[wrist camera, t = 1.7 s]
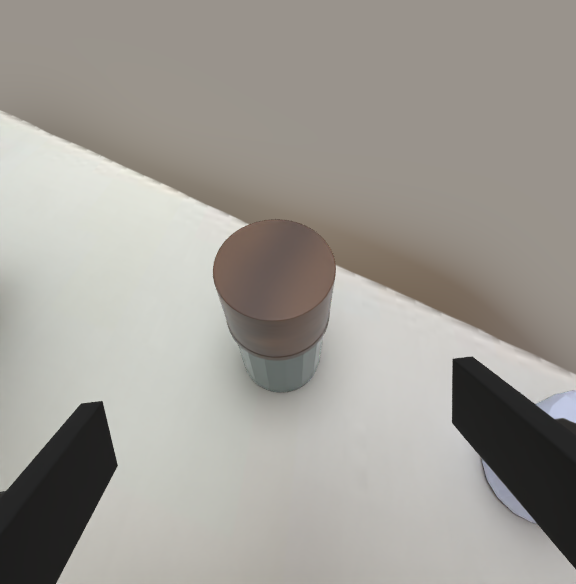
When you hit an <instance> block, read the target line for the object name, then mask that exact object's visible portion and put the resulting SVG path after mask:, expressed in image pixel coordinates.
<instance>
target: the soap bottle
mask: <svg viewBox="0 0 576 584" xmlns="http://www.w3.org/2000/svg"><path fill="white" fill-rule="evenodd" d="M535 405H537V406H538V407H539V408H541V409H542V410H543V411H545V412H546V413H547V414H549V415H550V416H551V417H553V418H554V419H559V418H564V419H567V420H569V421H571V422H574V423H576V391H575V390H572V391H568V392H563V393H559V394H555V395H553V396H551V397H549V398H547V399H545V400H543V401H541V402H539V403H537V404H535ZM482 463H483V467H484V470H485V474H486V478H487V481H488V482H489V484H490V486H491V487H492V489H493V491H494V492H495V494H496V496H497V497H498V498H499V499H500V500H501V501H502V502H503V503H504V504H505V505H506V506H507V507H508V508H509V509H510V510H511V511H512V512H513V513H515V514H517V515H519V516H520V517H522V518H524V519H526V520H528V521H530V522H532V523H536V522H535V520H534V519H533V518H532V517H531V516H530V514H529V513H528V512H527V511H526V510H525V509H524V507H523V506H522V505H521V504H520V503H519V501H518V500H517V499H516V498H515V497H514V496H513V494H512V493H511V492H510V491H509V490H508V488H507V487H506V486H505V485H504V484H503V483H502V481H501V480H500V479H499V478H498V477H497V475H496V474H495V473H494V472H493V471H492V470H491V468H490V467H489V466H488V465H487V464H486V462H485V461H484V460H483V459H482Z"/></svg>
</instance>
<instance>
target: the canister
mask: <svg viewBox="0 0 576 584" xmlns="http://www.w3.org/2000/svg"><path fill="white" fill-rule="evenodd" d="M322 340H323V337H322V338H321V340H320V341H319V342H318V343H317V344H316V345H315V346H314V347H313V348H312V349H311V350H309V351H308V352H306V353H305V354H303V355H301V356H298V357H296V358H292V359H289V360H282V361H273V360H266V359H261V358H258V357H256V356H253V355H251V354H250V353H248V352H246V351H245V350H244V349H242V348H241V347H240V346H239V345H238V346H239V349H240V352H241V355H242V359H243V362H244V365H245V368H246V371H247V373H248V374H249V376H250V377H251V379H252V380H253V381H254V382H255V383H256V384H258V385H259V386H260V387H262V388H264V389H266V390H269V391H273V392H289V391H293V390H296V389H298V388H300V387H302V386H303V385H305V384H306V383H307V382H308V381H309V380H310V379H311V378H312V377H313V375H314V373H315V372H316V369H317V367H318V364H319V360H320V354H321V347H322Z"/></svg>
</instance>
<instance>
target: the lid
mask: <svg viewBox="0 0 576 584" xmlns="http://www.w3.org/2000/svg"><path fill="white" fill-rule="evenodd" d="M335 272H336V266H335V259H334V256H333V253H332V251H331V249H330V247H329V245H328V244H327V243H326V241H325V240H324V239H323V238H322V237H321V236H320V235H319V234H318V233H316V232H315V231H314V230H312V229H311V228H308V227H307V226H305V225H302V224H300V223H297V222H293V221H288V220H279V219H277V220H276V219H275V220H264V221H259V222H255V223H252V224H249V225H247V226H245V227H243V228H241V229H239V230H238V231H236V232H235V233H233V234H232V235H231V236H230V237H229V238H228V239H227V240H226V241H225V242H224V243H223V244H222V246H221V247H220V249H219V251H218V253H217V255H216V257H215V261H214V266H213V278H214V283H215V287H216V290H217V293H218V296H219V299H220V302H221V305H222V308H223V311H224V314H225V317H226V320H227V324H228V327H229V330H230V333H231V335H232V337H233V338H234V340H235V341H236V342H237V344H238V345H239V346H240V347H241V348H242V349H244V350H245V351H246V352H248V353H250V354H251V355H253V356H256V357H258V358H261V359H266V360H273V361H282V360H289V359H292V358H296V357H298V356H301V355H303V354H305V353H306V352H308V351H309V350H311V349H312V348H313V347H314V346H315V345H316V344H317V343H318V342H319V341H320V340H321V338H322V337H323V335H324V333H325V331H326V329H327V326H328V322H329V314H330V306H331V299H332V293H333V287H334V280H335Z"/></svg>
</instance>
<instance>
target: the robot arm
mask: <svg viewBox="0 0 576 584" xmlns="http://www.w3.org/2000/svg"><path fill="white" fill-rule="evenodd" d="M452 423H453V425H454V426H455V427H456V428H457V429H458V430H459V432H460V433H461V434H462V435H463V436H464V438H465V439H466V440H467V441H468V442H469V443H470V445H471V446H472V447H473V448H474V449H475V451H476V452H477V453H478V454H479V455H480V457H481V458H482V459H483V460H484V461H485V462H486V464H487V465H488V466H489V467H490V468H491V470H492V471H493V472H494V473H495V474H496V475H497V477H498V478H499V479H500V480H501V481H502V483H503V484H504V485H505V486H506V487H507V488H508V490H509V491H510V492H511V493H512V494H513V496H514V497H515V498H516V499H517V500H518V501H519V503H520V504H521V505H522V506H523V507H524V509H525V510H526V511H527V512H528V513H529V514H530V516H531V517H532V518H533V519H534V520H535V522H536V523H537V524H538V525H539V526H540V527H541V529H542V530H543V531H544V532H545V533H546V535H547V536H548V537H549V538H550V539H551V541H552V542H553V543H554V544H555V545H556V546H557V548H558V549H559V550H560V551H561V552H562V554H563V555H564V556H565V557H566V558H567V559H568V561H569V562H570V563H571V564H572V565H573V567H574V568H575V569H576V423H574V422H571V421H569V420H567V419H564V418H559V419H554V418H553V417H551V416H550V415H549V414H547V413H546V412H545V411H543V410H542V409H541V408H539V407H538V406H537V405H535V404H534V403H533V402H531V401H530V400H529V399H528V398H526V397H525V396H524V395H522V394H521V393H520V392H518V391H517V390H516V389H514V388H513V387H512V386H510V385H509V384H508V383H506V382H505V381H504V380H502V379H501V378H500V377H499V376H497V375H496V374H495V373H493V372H492V371H491V370H489V369H488V368H487V367H485V366H484V365H483V364H481V363H480V362H479V361H477V360H476V359H475V358H474V357H464V358H456V359H453V376H452ZM117 466H118V465H117V461H116V457H115V452H114V448H113V444H112V440H111V435H110V431H109V427H108V423H107V418H106V414H105V410H104V406H103V401H99V402H91V403H82V404H80V406H79V407H78V408H77V409H76V410H75V411H74V413H73V414H72V415H71V416H70V417H69V418H68V420H67V421H66V422H65V423H64V424H63V425H62V427H61V428H60V429H59V430H58V431H57V432H56V434H55V435H54V436H53V437H52V438H51V439H50V441H49V442H48V443H47V444H46V445H45V446H44V448H43V449H42V450H41V451H40V452H39V453H38V455H37V456H36V457H35V458H34V459H33V460H32V462H31V463H30V464H29V465H28V466H27V467H26V469H25V470H24V471H23V472H22V473H21V474H20V476H19V477H18V478H17V479H16V480H15V481H14V483H13V484H12V485H11V486H10V487H9V489H8V490H7V491H3V492H0V584H56V582H57V581H58V579H59V577H60V575H61V573H62V571H63V569H64V567H65V565H66V563H67V561H68V560H69V558H70V556H71V554H72V552H73V550H74V548H75V546H76V544H77V542H78V540H79V539H80V537H81V535H82V533H83V531H84V529H85V527H86V525H87V523H88V521H89V519H90V518H91V516H92V514H93V512H94V510H95V508H96V506H97V504H98V502H99V500H100V498H101V497H102V495H103V493H104V491H105V489H106V487H107V485H108V483H109V481H110V479H111V477H112V476H113V474H114V472H115V470H116V468H117Z"/></svg>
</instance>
